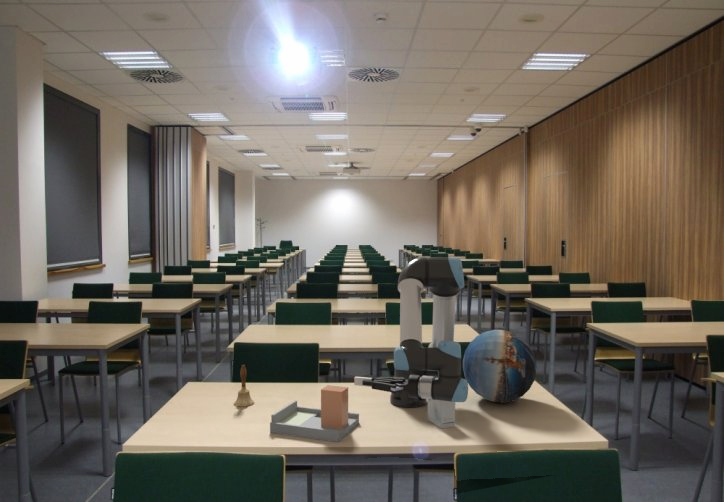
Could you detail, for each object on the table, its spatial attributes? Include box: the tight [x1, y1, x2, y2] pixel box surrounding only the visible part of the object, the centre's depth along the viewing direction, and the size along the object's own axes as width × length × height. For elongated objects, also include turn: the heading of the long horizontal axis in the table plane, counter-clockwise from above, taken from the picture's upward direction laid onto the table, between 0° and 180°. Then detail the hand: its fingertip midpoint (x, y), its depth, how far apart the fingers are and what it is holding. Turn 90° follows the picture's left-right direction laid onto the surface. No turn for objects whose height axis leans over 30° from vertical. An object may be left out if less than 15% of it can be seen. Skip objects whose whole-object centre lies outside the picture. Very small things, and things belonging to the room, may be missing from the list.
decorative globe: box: [462, 329, 537, 404], centre depth 231 cm, size 30×30×30 cm
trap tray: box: [269, 399, 360, 443], centre depth 199 cm, size 26×20×6 cm
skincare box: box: [427, 399, 456, 429], centre depth 204 cm, size 10×6×10 cm, turn 21°
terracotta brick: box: [320, 384, 349, 429], centre depth 197 cm, size 8×6×13 cm
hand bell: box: [233, 364, 255, 408], centre depth 227 cm, size 8×8×16 cm
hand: (355, 380), depth 193 cm, fingers closed
